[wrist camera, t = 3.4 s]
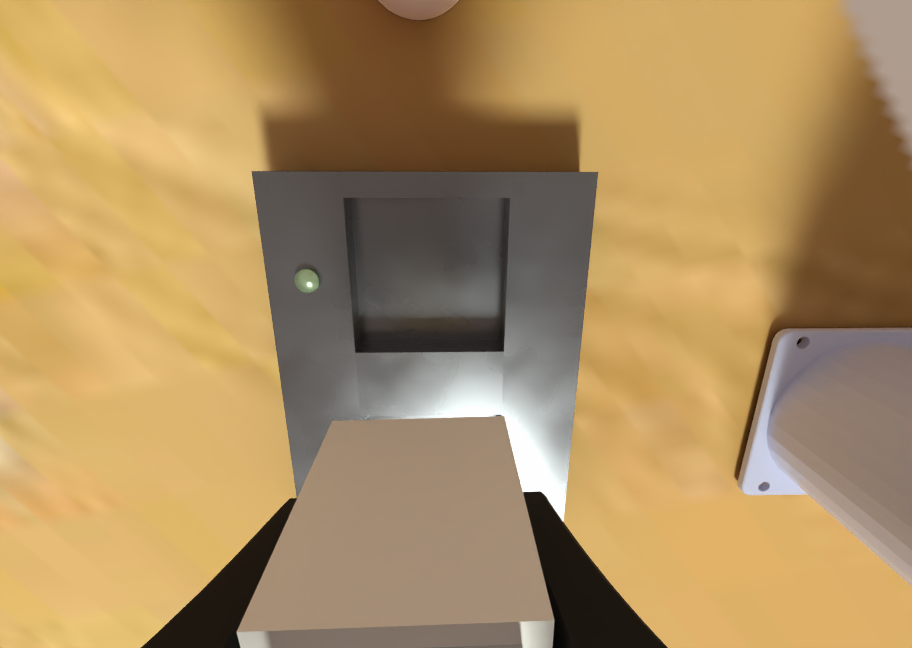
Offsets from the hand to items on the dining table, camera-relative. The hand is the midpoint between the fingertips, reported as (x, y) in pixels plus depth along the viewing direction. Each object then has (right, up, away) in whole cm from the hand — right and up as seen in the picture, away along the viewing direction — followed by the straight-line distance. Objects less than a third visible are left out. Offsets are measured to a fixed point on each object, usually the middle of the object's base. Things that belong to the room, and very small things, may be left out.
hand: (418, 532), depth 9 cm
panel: (0, +3, +9) cm, 9 cm away
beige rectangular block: (0, 0, +2) cm, 2 cm away
